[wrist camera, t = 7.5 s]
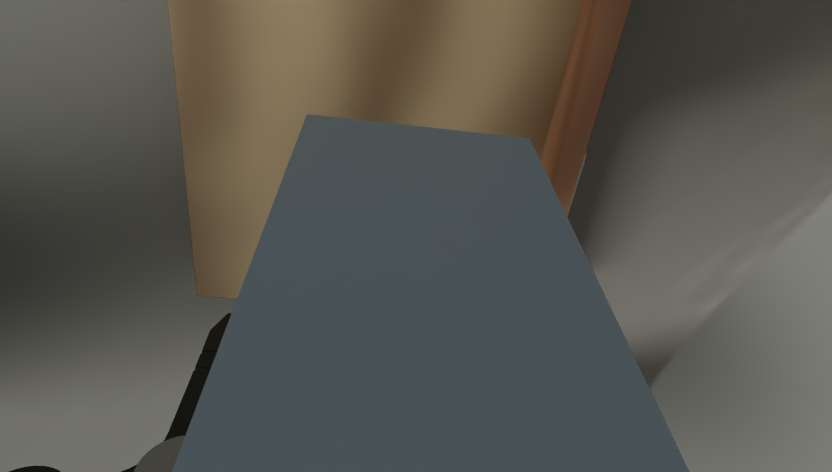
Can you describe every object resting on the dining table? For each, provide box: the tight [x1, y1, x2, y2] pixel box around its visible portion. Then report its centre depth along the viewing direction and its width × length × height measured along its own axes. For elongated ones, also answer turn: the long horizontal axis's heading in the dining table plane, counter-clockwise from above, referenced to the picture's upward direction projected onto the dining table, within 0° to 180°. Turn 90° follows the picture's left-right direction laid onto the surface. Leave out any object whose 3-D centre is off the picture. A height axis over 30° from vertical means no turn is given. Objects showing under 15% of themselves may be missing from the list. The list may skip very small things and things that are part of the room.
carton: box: [172, 114, 689, 472], centre depth 10 cm, size 8×5×10 cm, turn 173°
